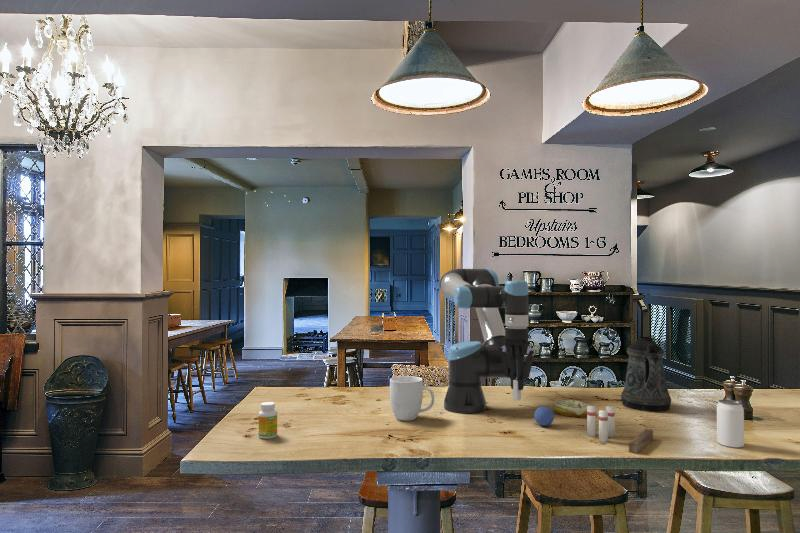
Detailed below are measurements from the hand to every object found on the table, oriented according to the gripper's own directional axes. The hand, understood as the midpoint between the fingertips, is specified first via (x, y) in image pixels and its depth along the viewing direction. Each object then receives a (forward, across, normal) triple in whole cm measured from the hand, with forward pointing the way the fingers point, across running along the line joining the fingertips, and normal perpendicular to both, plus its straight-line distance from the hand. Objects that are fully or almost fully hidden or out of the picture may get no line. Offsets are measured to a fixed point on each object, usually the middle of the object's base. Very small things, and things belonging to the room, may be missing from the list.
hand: (517, 399), depth 170 cm
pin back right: (+7, +29, -3) cm, 30 cm away
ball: (+4, +9, 0) cm, 10 cm away
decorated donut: (+7, +10, +20) cm, 24 cm away
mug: (+7, -29, -21) cm, 36 cm away
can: (+8, +57, +17) cm, 60 cm away
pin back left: (+7, +29, +3) cm, 30 cm away
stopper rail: (+7, +38, 0) cm, 39 cm away
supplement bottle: (+7, -49, -63) cm, 80 cm away
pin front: (+7, +24, 0) cm, 25 cm away
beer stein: (+7, +28, +46) cm, 55 cm away
